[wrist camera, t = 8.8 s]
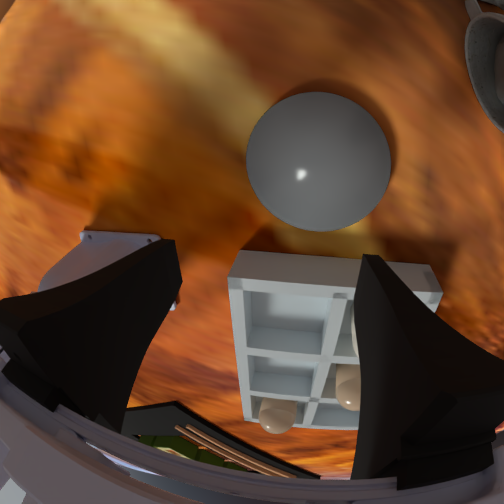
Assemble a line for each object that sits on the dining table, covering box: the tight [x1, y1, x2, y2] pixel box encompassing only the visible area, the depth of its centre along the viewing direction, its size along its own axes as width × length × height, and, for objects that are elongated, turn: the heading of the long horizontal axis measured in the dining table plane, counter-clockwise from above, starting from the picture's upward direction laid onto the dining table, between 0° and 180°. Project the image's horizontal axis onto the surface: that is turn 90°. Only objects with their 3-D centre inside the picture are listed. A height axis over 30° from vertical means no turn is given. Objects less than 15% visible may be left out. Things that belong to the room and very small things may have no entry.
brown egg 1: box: [259, 397, 298, 434], centre depth 27 cm, size 4×4×5 cm
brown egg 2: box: [336, 363, 361, 411], centre depth 22 cm, size 4×4×5 cm
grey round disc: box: [246, 92, 391, 231], centre depth 17 cm, size 9×9×1 cm
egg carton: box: [227, 250, 443, 430], centre depth 25 cm, size 15×22×4 cm
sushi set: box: [121, 401, 320, 480], centre depth 54 cm, size 45×45×4 cm
